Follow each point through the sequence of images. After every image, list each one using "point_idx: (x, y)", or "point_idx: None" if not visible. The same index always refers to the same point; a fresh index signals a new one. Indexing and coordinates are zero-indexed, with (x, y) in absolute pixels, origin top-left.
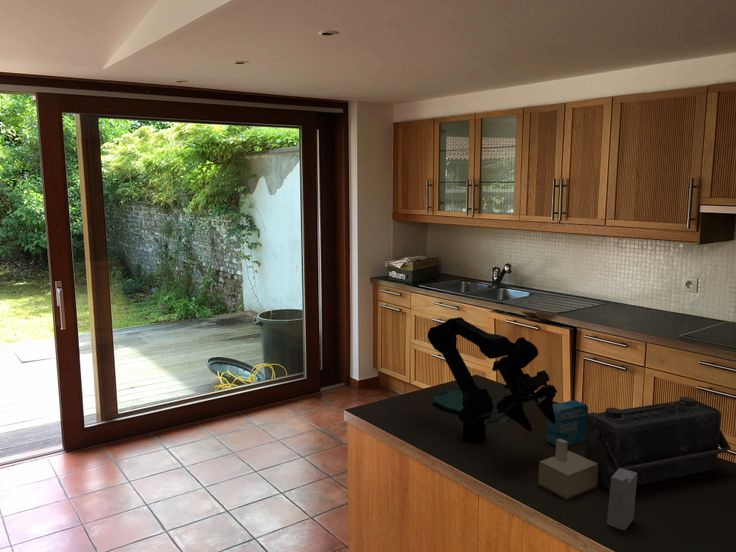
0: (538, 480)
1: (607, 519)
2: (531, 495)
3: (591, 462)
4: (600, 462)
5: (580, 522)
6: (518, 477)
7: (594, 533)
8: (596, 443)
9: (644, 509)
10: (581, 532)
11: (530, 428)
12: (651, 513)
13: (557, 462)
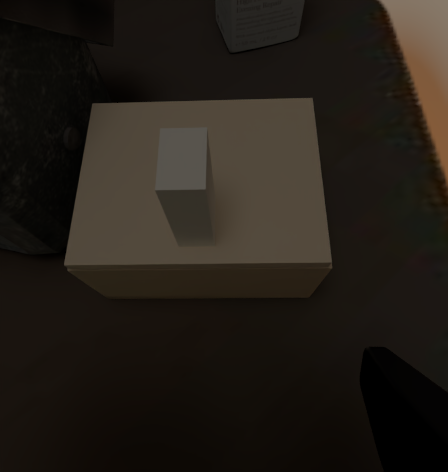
0: (313, 291)
1: (300, 22)
2: (392, 255)
3: (104, 124)
4: (70, 107)
5: (357, 74)
6: (337, 407)
7: (362, 30)
8: (5, 66)
9: (134, 38)
10: (393, 46)
11: (395, 357)
12: (139, 21)
13: (251, 202)
